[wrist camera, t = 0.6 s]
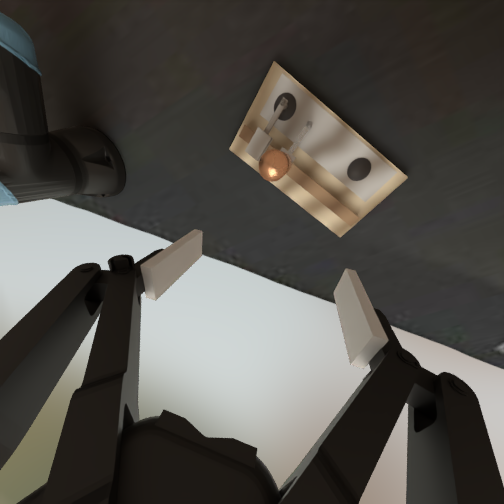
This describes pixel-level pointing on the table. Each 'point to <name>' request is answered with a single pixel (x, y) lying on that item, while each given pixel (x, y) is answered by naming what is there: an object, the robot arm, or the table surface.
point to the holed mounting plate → (315, 153)
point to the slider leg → (280, 158)
